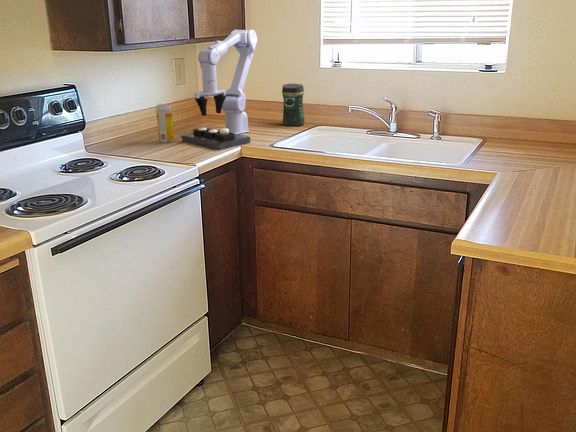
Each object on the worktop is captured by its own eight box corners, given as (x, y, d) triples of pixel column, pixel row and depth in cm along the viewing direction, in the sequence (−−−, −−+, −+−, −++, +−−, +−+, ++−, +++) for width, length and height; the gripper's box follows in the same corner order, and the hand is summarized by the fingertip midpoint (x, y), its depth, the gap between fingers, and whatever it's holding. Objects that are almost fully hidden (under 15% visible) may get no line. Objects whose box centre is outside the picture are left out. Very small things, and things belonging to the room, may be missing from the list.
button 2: (214, 133, 238) (213, 129, 237) (219, 135, 235) (219, 130, 235) (207, 135, 235) (206, 130, 235) (212, 136, 233) (212, 131, 232)
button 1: (203, 131, 242) (203, 127, 242) (208, 133, 240) (208, 128, 239) (196, 133, 240) (196, 128, 239) (201, 134, 237) (201, 129, 237)
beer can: (176, 139, 243) (172, 103, 237) (171, 143, 237) (168, 106, 232) (161, 139, 243) (158, 103, 238) (157, 143, 238) (153, 106, 232)
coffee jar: (306, 123, 269) (306, 83, 263) (299, 127, 262) (298, 85, 256) (288, 122, 273) (287, 82, 267) (280, 125, 267) (279, 84, 260)
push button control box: (208, 134, 252) (208, 123, 250) (250, 142, 234) (249, 131, 233) (178, 140, 241) (177, 129, 240) (219, 150, 224) (218, 138, 222)
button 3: (225, 132, 233) (224, 128, 232) (230, 134, 230) (230, 129, 230) (218, 134, 230) (217, 129, 229) (223, 135, 228) (223, 130, 227)
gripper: (217, 78, 241) (218, 111, 246) (188, 81, 232) (191, 115, 236) (228, 79, 237) (229, 112, 241) (199, 82, 227) (201, 117, 231)
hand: (211, 114), depth 238 cm, fingers open, 7 cm apart
